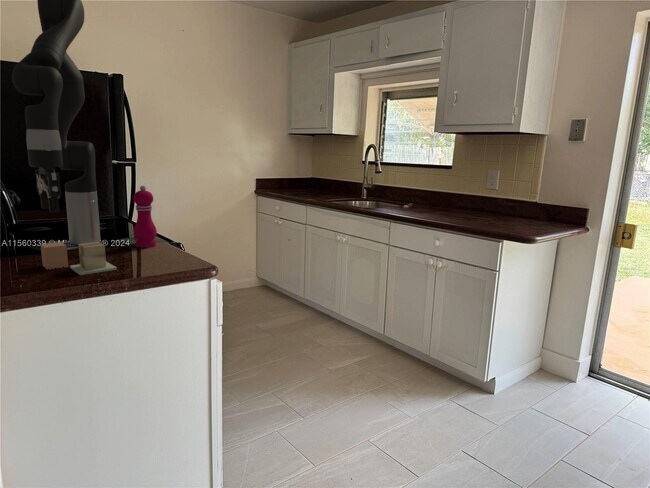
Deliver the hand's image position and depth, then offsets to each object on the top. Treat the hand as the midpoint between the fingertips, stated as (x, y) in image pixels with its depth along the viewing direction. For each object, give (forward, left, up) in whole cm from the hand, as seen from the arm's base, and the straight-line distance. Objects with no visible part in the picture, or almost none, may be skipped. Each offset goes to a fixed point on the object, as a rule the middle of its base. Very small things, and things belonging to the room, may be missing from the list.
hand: (50, 210), depth 118 cm
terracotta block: (0, 0, -15) cm, 15 cm away
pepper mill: (-11, +29, -15) cm, 35 cm away
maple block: (+8, +7, -15) cm, 18 cm away
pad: (+8, +7, -15) cm, 19 cm away
